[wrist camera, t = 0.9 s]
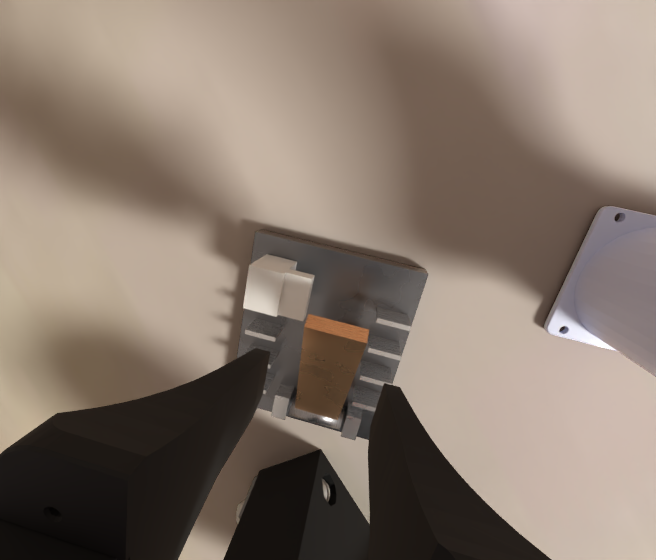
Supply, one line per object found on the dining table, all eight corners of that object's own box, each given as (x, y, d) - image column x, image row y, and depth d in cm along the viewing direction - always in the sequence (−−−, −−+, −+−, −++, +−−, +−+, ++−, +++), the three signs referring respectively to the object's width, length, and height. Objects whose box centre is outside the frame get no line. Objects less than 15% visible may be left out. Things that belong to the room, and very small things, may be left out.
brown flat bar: (376, 326, 15) (372, 350, 14) (342, 412, 23) (338, 432, 22) (304, 307, 16) (296, 330, 15) (294, 399, 23) (288, 418, 22)
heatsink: (425, 269, 20) (433, 282, 17) (373, 429, 24) (373, 461, 21) (261, 229, 21) (244, 236, 18) (237, 390, 25) (219, 416, 22)
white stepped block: (320, 267, 20) (310, 280, 17) (312, 304, 21) (301, 323, 18) (267, 254, 20) (249, 264, 17) (260, 291, 21) (242, 308, 18)
